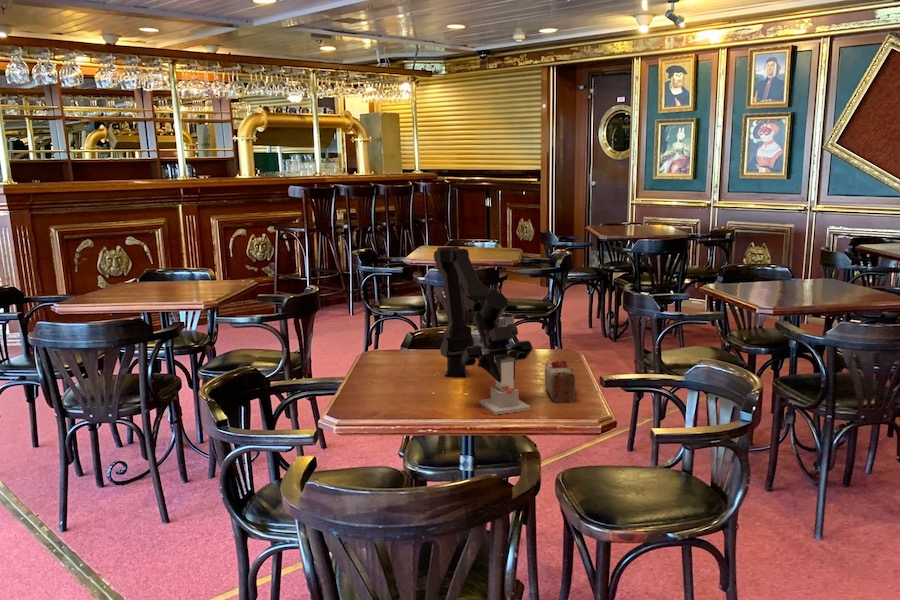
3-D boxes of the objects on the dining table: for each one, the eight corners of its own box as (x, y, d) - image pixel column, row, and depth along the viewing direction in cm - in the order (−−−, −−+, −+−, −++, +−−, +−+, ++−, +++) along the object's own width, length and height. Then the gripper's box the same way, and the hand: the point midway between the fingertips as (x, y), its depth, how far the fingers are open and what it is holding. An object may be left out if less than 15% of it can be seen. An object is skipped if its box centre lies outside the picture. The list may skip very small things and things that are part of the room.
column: (494, 402, 190) (494, 356, 188) (507, 400, 191) (508, 355, 189) (500, 406, 186) (500, 360, 184) (514, 404, 188) (514, 358, 185)
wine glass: (485, 358, 239) (485, 314, 236) (505, 355, 242) (505, 311, 240) (497, 363, 232) (497, 318, 229) (518, 360, 235) (518, 315, 233)
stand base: (479, 403, 192) (479, 383, 191) (513, 399, 195) (513, 378, 194) (495, 415, 183) (495, 393, 182) (530, 410, 186) (530, 388, 185)
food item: (541, 388, 205) (542, 354, 204) (569, 387, 206) (570, 354, 204) (550, 403, 192) (550, 367, 190) (579, 402, 192) (580, 366, 190)
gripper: (465, 316, 185) (482, 368, 177) (529, 310, 192) (549, 360, 183) (454, 340, 194) (470, 390, 185) (516, 333, 200) (534, 382, 192)
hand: (506, 380), depth 186 cm, fingers closed on column, 3 cm apart
